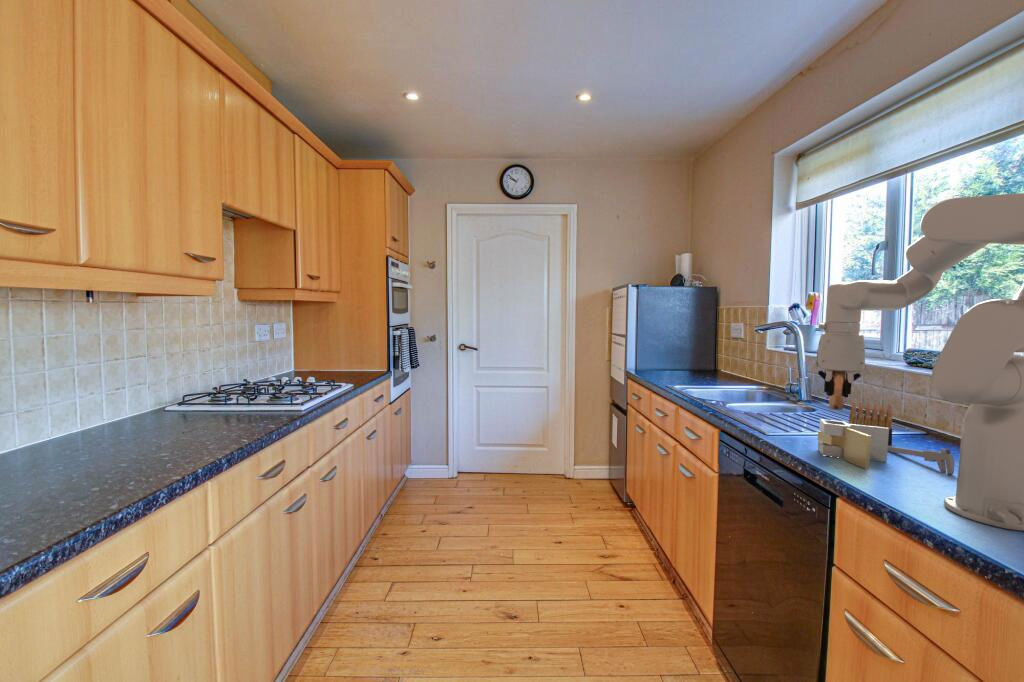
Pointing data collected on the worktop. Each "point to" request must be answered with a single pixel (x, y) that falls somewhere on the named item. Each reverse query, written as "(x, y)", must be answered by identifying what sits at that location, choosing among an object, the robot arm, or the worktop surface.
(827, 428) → the hinge fixed
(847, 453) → the hinge leaf
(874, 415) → the ammunition clip
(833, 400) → the pin
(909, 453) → the caliper
